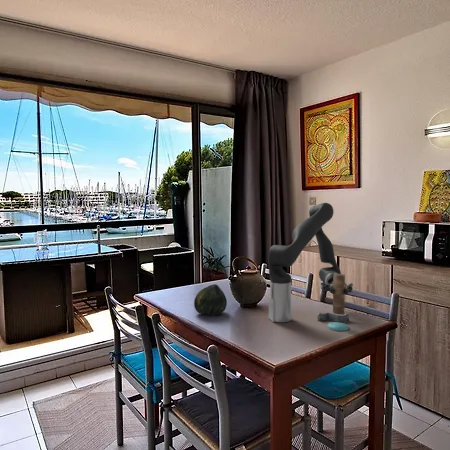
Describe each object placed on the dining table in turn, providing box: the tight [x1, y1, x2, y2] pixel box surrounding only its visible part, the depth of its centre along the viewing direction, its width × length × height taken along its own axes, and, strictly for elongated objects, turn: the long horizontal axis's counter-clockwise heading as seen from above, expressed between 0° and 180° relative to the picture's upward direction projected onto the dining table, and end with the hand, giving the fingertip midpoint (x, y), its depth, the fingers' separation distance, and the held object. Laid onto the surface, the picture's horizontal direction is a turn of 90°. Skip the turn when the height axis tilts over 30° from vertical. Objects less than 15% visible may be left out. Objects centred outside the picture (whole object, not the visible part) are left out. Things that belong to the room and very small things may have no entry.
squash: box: [193, 283, 228, 316], centre depth 180 cm, size 14×15×15 cm
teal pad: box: [327, 321, 349, 332], centre depth 161 cm, size 8×8×1 cm
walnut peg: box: [332, 273, 346, 315], centre depth 160 cm, size 5×5×16 cm
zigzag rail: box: [317, 312, 350, 323], centre depth 170 cm, size 14×5×3 cm, turn 86°
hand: (339, 291), depth 158 cm, fingers closed on walnut peg, 4 cm apart
